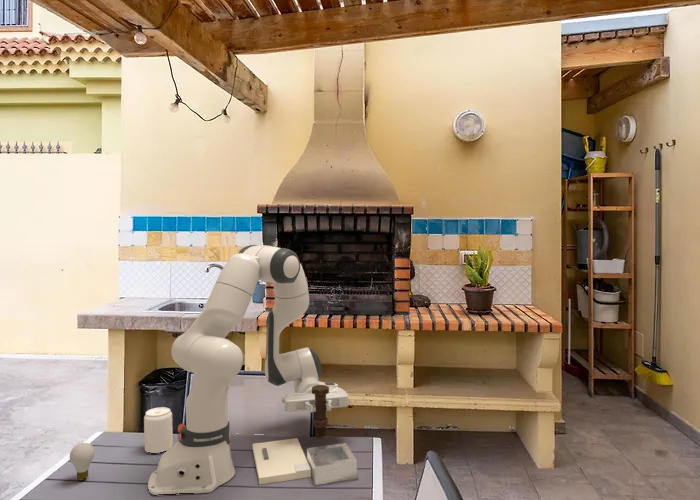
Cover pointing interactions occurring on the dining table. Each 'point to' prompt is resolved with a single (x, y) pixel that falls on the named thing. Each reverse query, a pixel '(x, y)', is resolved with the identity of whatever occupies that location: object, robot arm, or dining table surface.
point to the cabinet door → (280, 461)
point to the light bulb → (82, 459)
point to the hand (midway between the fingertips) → (321, 409)
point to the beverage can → (158, 430)
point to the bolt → (320, 410)
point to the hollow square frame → (332, 464)
